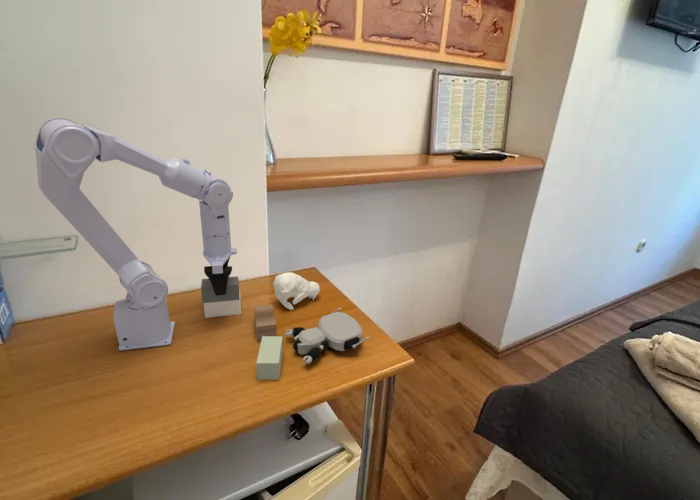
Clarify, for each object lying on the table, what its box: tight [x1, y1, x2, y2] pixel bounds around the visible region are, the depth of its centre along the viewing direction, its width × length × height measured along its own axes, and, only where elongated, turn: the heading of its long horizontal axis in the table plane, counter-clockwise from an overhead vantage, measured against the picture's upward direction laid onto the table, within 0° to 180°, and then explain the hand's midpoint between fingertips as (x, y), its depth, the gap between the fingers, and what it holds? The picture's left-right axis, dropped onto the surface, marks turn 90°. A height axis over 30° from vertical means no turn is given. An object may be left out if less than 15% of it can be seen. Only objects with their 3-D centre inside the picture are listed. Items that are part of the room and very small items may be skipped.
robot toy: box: [284, 307, 371, 365], centre depth 81 cm, size 12×4×15 cm
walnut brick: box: [253, 304, 277, 343], centre depth 85 cm, size 8×4×4 cm, turn 16°
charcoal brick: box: [200, 276, 241, 304], centre depth 89 cm, size 8×4×4 cm, turn 106°
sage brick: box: [255, 335, 284, 381], centre depth 75 cm, size 8×4×4 cm, turn 4°
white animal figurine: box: [272, 272, 321, 311], centre depth 95 cm, size 6×8×12 cm
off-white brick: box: [203, 290, 242, 319], centre depth 90 cm, size 8×4×4 cm, turn 106°
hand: (220, 287), depth 88 cm, fingers open, 6 cm apart
